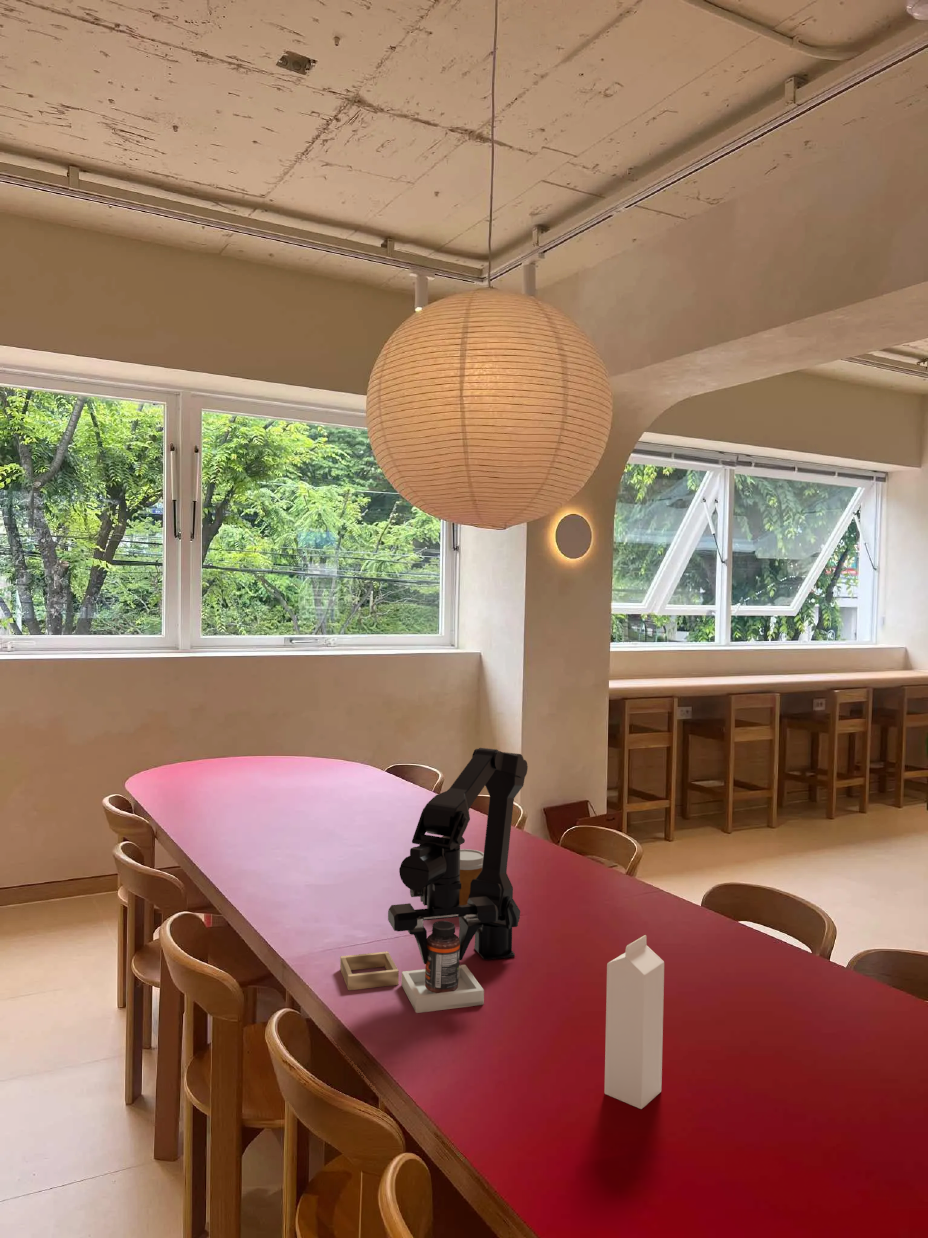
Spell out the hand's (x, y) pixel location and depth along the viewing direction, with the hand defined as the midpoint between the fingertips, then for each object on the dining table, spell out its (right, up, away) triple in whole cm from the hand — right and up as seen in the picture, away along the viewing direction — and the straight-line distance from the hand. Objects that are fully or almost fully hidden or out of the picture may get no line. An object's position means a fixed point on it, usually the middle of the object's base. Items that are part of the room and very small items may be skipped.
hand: (442, 961), depth 157 cm
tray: (0, -6, 0) cm, 6 cm away
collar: (-14, -6, +7) cm, 16 cm away
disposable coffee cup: (+4, -5, +44) cm, 45 cm away
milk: (+28, -8, -30) cm, 42 cm away
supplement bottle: (0, -5, 0) cm, 5 cm away
